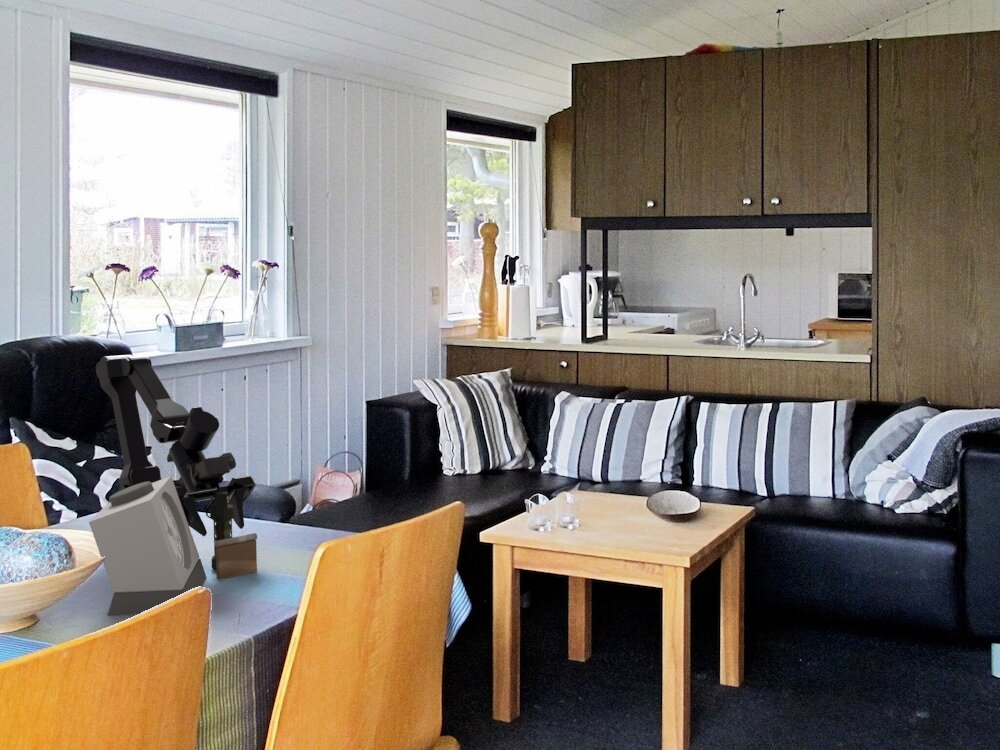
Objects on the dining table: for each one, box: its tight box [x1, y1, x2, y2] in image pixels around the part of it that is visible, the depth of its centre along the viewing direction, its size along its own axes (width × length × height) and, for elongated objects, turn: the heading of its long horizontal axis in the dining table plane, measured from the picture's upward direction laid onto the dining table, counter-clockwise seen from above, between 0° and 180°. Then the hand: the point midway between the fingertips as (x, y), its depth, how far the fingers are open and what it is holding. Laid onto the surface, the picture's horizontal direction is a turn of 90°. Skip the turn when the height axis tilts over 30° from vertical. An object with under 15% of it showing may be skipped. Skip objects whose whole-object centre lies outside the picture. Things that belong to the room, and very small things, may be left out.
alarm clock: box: [88, 475, 207, 616], centre depth 198 cm, size 20×16×20 cm
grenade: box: [202, 492, 235, 571], centre depth 215 cm, size 6×6×15 cm
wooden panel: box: [213, 532, 258, 581], centre depth 211 cm, size 1×8×7 cm, turn 135°
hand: (224, 531), depth 214 cm, fingers open, 8 cm apart
